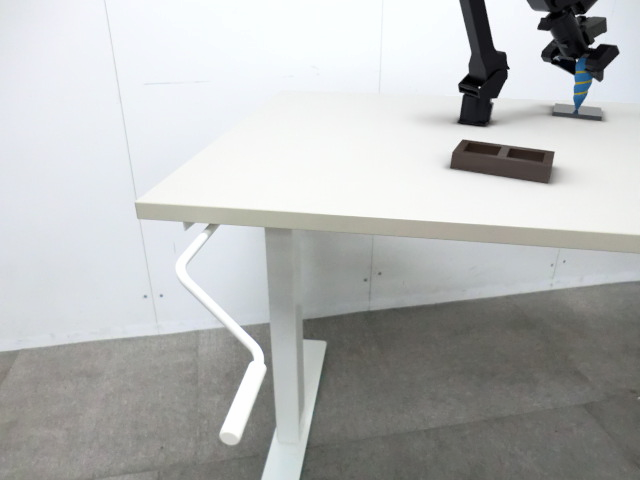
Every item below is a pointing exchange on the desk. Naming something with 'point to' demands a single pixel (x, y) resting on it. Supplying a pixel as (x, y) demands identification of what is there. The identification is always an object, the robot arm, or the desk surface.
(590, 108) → the coaster
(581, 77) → the ornament
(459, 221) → the desk surface
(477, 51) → the robot arm
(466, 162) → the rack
